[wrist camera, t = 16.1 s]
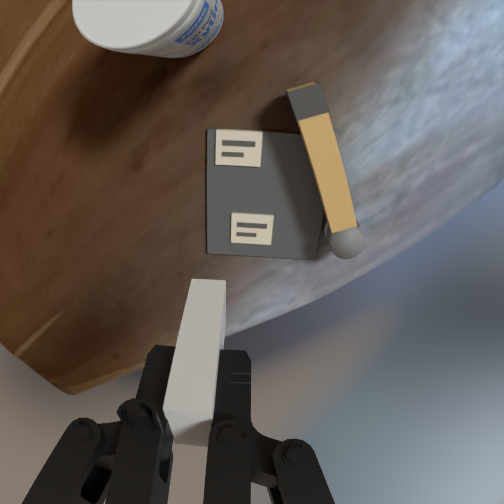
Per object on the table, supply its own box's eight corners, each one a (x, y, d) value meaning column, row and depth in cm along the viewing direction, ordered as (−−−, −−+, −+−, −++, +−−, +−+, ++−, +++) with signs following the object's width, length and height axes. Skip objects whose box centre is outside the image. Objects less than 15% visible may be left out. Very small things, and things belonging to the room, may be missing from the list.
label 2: (231, 239, 41) (230, 242, 41) (232, 211, 39) (231, 213, 38) (270, 242, 41) (270, 245, 41) (273, 213, 39) (273, 216, 38)
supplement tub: (223, 56, 29) (198, 47, 17) (138, 62, 29) (68, 66, 17) (225, -24, 24) (203, -76, 12) (139, -15, 24) (74, -48, 12)
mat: (207, 251, 42) (207, 253, 42) (208, 128, 34) (207, 129, 33) (314, 258, 42) (315, 259, 42) (334, 137, 34) (334, 138, 34)
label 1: (216, 162, 36) (215, 164, 35) (217, 128, 34) (216, 130, 33) (260, 165, 36) (260, 167, 35) (262, 131, 34) (262, 132, 33)
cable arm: (281, 91, 30) (283, 93, 27) (317, 80, 29) (323, 81, 27) (330, 249, 40) (335, 263, 37) (360, 240, 39) (367, 253, 36)
